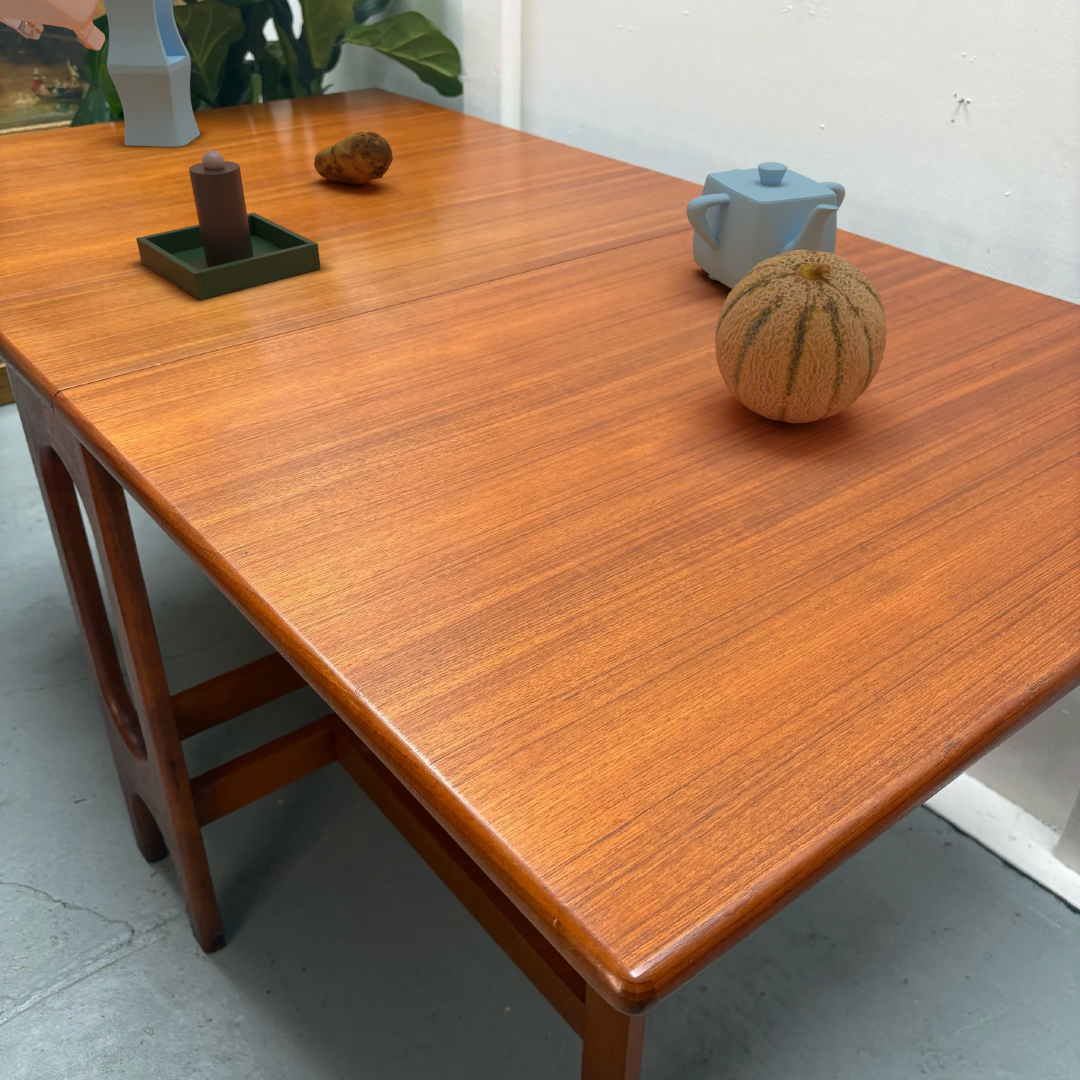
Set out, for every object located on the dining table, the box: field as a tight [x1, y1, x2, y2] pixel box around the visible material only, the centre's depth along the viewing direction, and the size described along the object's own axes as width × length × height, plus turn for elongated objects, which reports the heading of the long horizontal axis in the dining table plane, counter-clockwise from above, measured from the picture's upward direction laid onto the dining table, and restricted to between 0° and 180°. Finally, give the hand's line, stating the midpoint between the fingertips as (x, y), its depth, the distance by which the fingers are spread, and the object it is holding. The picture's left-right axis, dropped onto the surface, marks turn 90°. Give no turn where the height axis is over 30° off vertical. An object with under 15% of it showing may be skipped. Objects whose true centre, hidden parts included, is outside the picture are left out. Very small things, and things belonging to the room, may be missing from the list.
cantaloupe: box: [714, 250, 888, 424], centre depth 89 cm, size 15×15×15 cm
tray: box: [135, 212, 322, 301], centre depth 122 cm, size 16×16×3 cm
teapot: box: [685, 161, 846, 290], centre depth 115 cm, size 18×16×14 cm
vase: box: [102, 0, 201, 148], centre depth 165 cm, size 10×10×25 cm
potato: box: [313, 131, 394, 185], centre depth 148 cm, size 8×13×8 cm, turn 39°
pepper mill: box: [188, 149, 254, 267], centre depth 119 cm, size 6×6×13 cm
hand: (67, 38), depth 102 cm, fingers open, 8 cm apart
